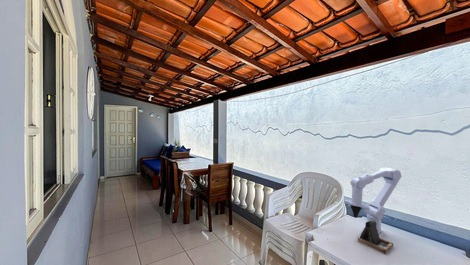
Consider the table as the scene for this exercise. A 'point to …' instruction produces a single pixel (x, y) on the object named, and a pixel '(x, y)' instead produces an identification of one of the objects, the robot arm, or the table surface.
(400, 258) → the table surface
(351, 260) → the table surface
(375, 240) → the phone stand
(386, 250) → the walnut bracket
